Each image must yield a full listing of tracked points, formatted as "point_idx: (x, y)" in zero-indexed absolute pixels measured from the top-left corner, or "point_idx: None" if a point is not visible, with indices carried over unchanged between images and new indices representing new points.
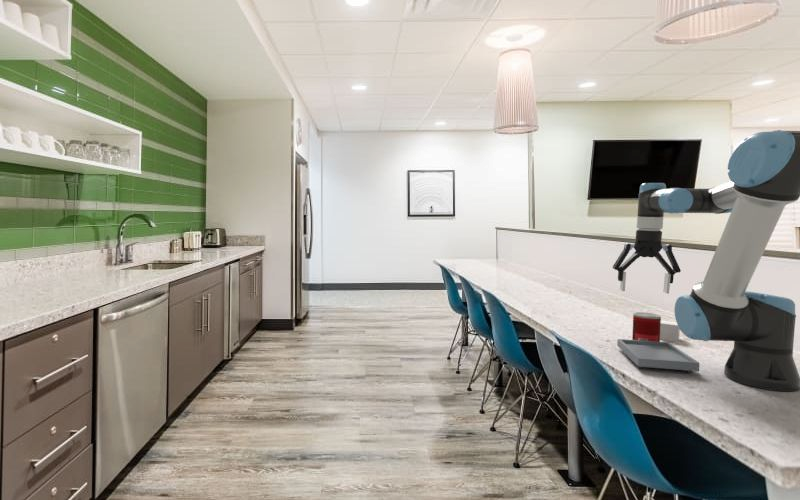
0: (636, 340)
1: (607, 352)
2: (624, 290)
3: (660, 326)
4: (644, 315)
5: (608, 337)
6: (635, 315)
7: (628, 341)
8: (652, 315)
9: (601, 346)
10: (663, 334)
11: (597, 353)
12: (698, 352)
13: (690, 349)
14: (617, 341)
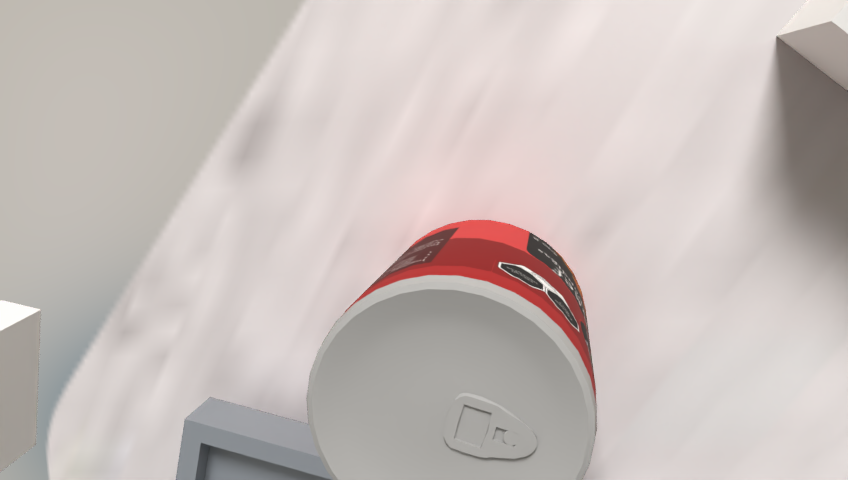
0: (316, 464)
1: (127, 454)
2: (21, 452)
3: (834, 38)
4: (423, 404)
5: (308, 22)
6: (311, 410)
7: (259, 452)
8: (516, 419)
9: (140, 311)
10: (831, 63)
11: (54, 474)
12: (839, 463)
13: (837, 382)
14: (195, 410)
